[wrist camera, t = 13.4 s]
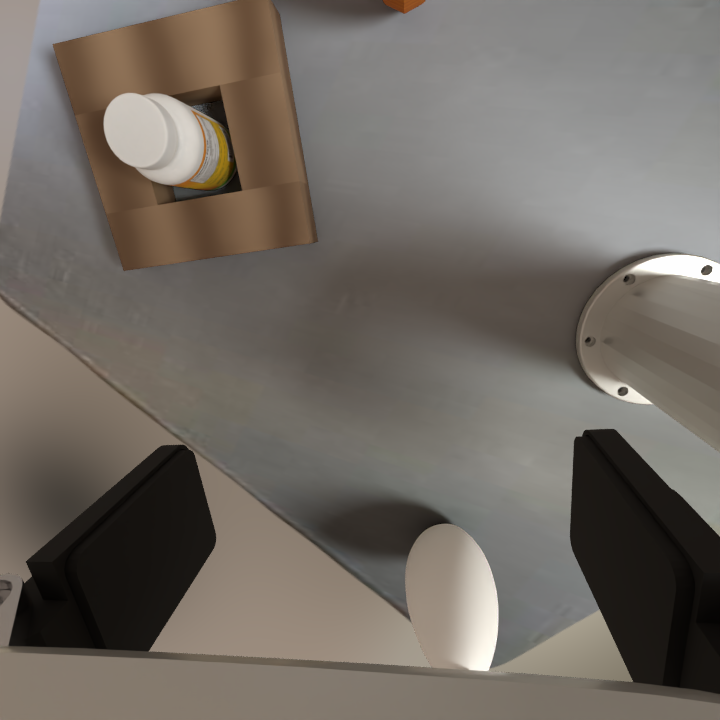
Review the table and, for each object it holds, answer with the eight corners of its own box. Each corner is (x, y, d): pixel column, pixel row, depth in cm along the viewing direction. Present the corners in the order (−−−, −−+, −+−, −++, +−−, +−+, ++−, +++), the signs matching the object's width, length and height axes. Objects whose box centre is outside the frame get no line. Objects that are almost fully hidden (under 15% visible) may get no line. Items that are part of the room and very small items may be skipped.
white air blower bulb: (428, 573, 45) (443, 787, 28) (392, 521, 43) (385, 715, 26) (494, 548, 43) (554, 761, 26) (459, 492, 41) (499, 682, 24)
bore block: (279, 14, 30) (266, -7, 27) (317, 241, 35) (310, 243, 32) (83, 59, 32) (52, 44, 29) (145, 266, 37) (123, 270, 34)
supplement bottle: (164, 162, 34) (76, 141, 25) (196, 102, 32) (114, 55, 23) (218, 205, 35) (152, 199, 25) (252, 148, 33) (194, 120, 24)
